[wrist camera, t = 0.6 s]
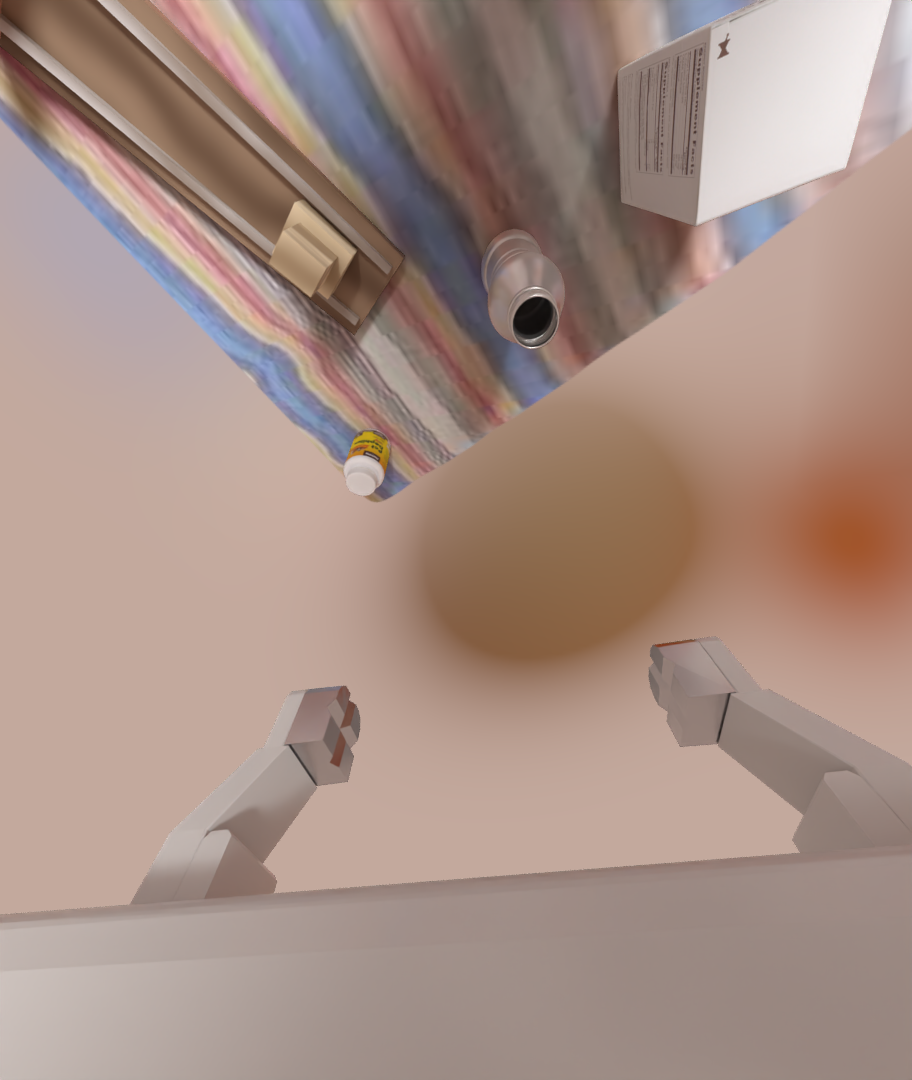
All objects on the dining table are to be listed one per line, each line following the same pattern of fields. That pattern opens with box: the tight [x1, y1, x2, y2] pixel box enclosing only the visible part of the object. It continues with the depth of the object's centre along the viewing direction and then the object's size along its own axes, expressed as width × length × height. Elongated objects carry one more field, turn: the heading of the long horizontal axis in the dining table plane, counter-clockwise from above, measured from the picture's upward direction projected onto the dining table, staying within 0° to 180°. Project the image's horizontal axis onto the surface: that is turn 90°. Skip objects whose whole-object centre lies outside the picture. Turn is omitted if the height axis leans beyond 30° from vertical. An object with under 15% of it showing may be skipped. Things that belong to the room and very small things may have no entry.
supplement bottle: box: [343, 429, 391, 496], centre depth 55 cm, size 6×6×10 cm
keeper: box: [269, 199, 358, 299], centre depth 37 cm, size 5×6×8 cm
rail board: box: [0, 0, 405, 335], centre depth 34 cm, size 10×35×6 cm, turn 49°
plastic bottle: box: [481, 229, 565, 349], centre depth 35 cm, size 6×7×20 cm
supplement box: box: [618, 0, 892, 226], centre depth 29 cm, size 10×9×17 cm
